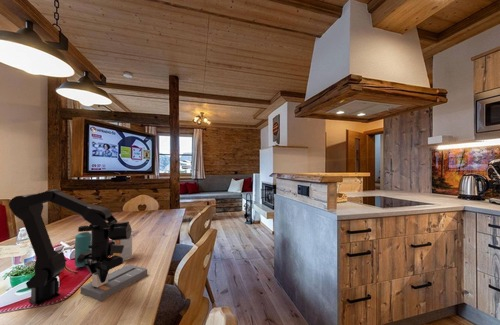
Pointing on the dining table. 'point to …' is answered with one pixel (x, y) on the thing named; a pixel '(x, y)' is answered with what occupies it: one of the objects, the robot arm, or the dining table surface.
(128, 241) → the small box
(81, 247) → the beverage bottle
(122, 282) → the console
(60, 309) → the dining table surface
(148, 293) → the dining table surface
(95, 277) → the fader knob
